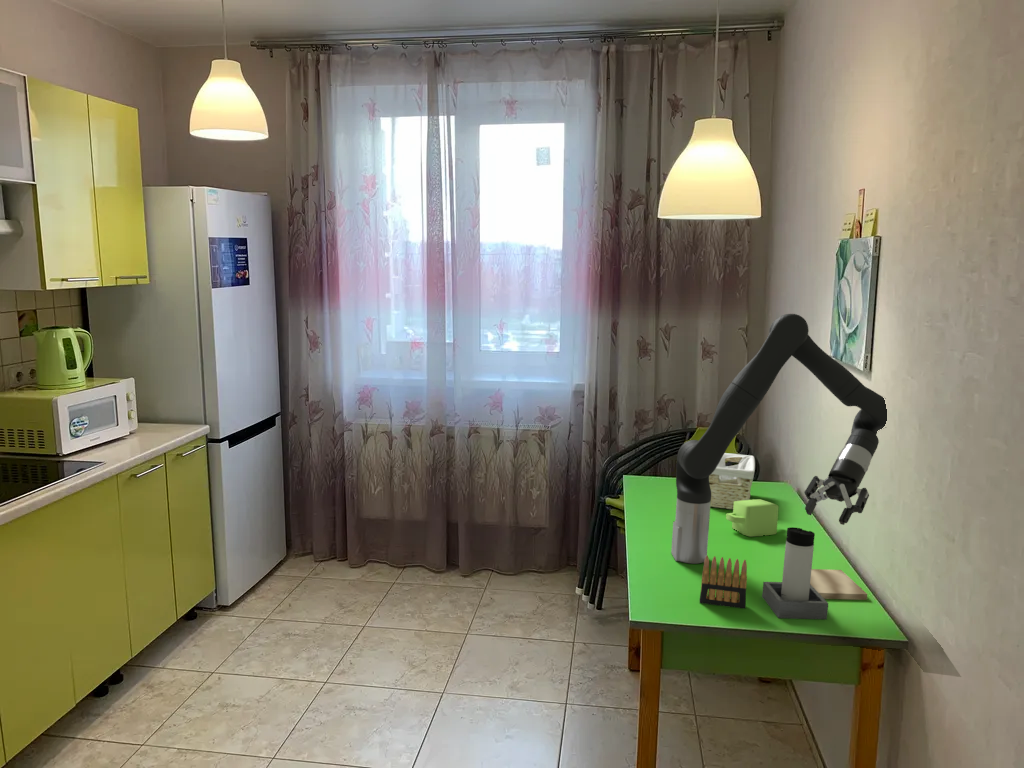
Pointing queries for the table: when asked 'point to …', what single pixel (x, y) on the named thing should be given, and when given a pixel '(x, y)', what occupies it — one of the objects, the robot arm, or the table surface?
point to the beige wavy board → (835, 585)
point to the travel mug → (797, 564)
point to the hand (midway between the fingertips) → (824, 518)
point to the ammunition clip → (724, 584)
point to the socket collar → (794, 603)
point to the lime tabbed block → (754, 517)
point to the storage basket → (732, 480)
